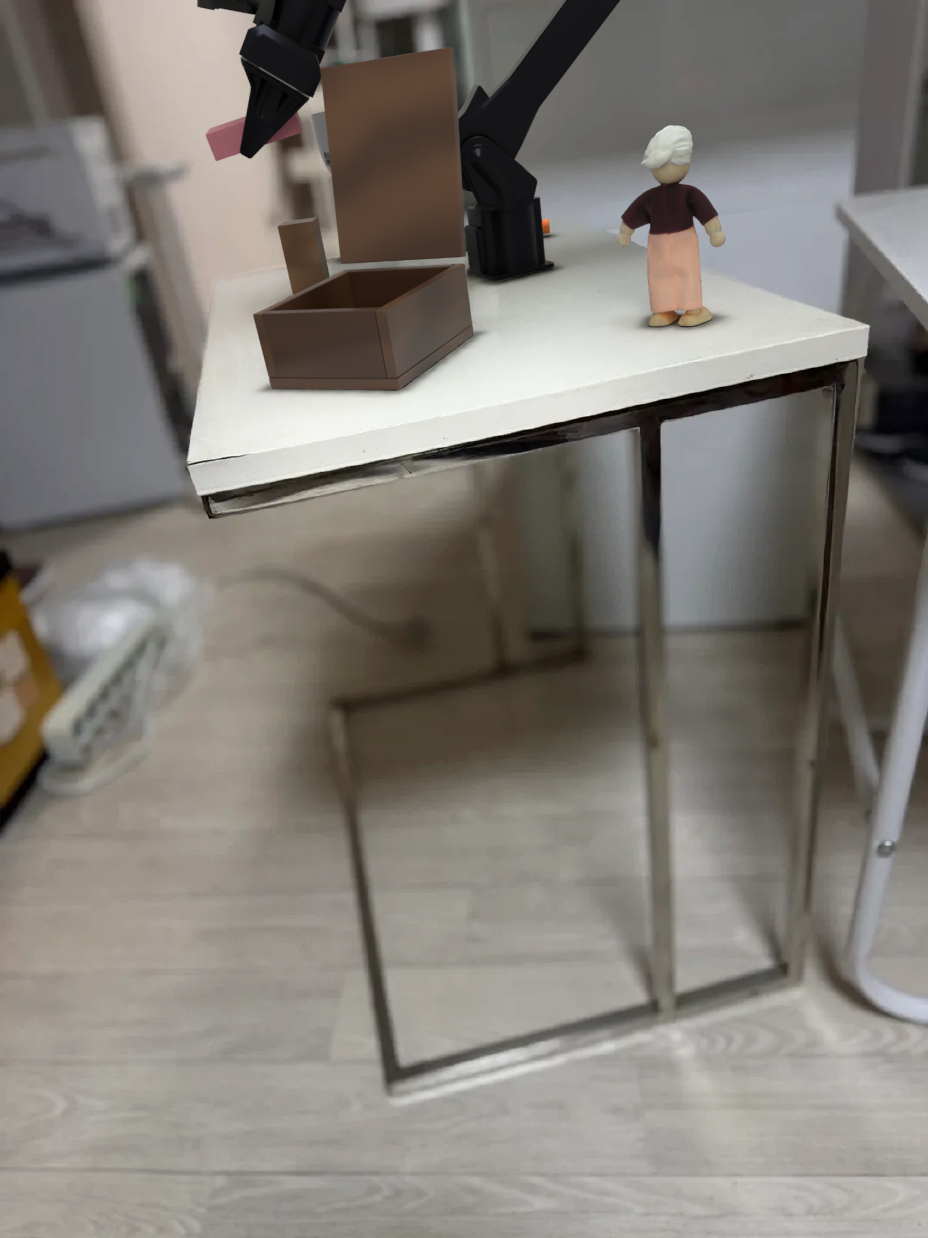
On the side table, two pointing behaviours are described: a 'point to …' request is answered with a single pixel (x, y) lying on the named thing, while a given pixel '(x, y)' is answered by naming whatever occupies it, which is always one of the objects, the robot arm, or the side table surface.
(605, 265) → the side table surface
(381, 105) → the lid
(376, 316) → the chest
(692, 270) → the grandmother figurine
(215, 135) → the long pink eraser
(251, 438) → the side table surface
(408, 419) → the side table surface
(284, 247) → the stand
